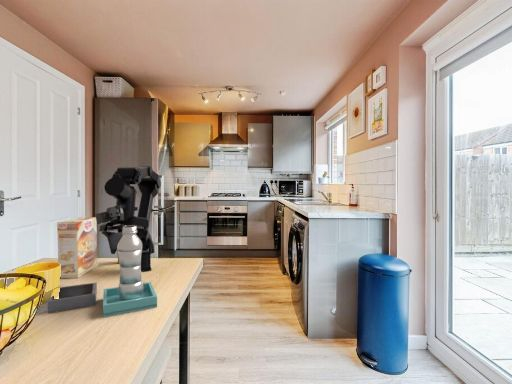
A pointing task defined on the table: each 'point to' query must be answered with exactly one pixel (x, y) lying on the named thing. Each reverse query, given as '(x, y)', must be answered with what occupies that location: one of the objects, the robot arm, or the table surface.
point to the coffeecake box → (77, 246)
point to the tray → (128, 301)
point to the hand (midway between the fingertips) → (121, 253)
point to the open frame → (73, 297)
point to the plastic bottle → (130, 264)
